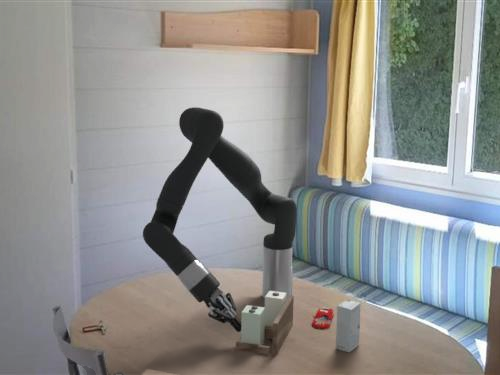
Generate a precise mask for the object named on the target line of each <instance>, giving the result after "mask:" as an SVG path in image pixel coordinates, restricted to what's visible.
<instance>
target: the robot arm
mask: <svg viewBox="0 0 500 375" xmlns="http://www.w3.org/2000/svg"><path fill="white" fill-rule="evenodd" d="M178 122H179V124H178V126H179V130H180V132H181V133H182V135H183V137H185V139H187V140H188V141H189V142H191V144H190V145H191V146H190V148H189V149H188V152H187V153H186V155H185V156H184V158H182V161H181V162H180V163H179V164H178V165H177V166H176V167H175V168H174V169H173V170H172V171H171V172H170V174H169V175H168V177H167V178H166V180H165V182H164V184H163V185H162V189H161V191H160V193H159V196H158V198H157V201H156V204H155V205H156V206H155V211H154V212H153V215H152V217H151V220H150V221H149V222H148V223H147V224H146V225H145V226H144V228H143V231H142V238H143V241H144V243H145V244H146V245H147V246H148V248H150V249H151V250H152V251H153V252H154V253H155V254H156V255H157V256H158V257H159V258H160V259H161V260H163V261H164V262H165V264H166V265H167V267H168V268H169V269H170V270H171V271H172V272H173V273H174V275H175V276H176V277H177V278H178V279H179V281H180V282H181V285H183V287H185V288H186V290H187V291H188V292H189V293H190V294H191V296H192V297H194V298H195V300H196V301H197V302H198V303H201V302H204V303H205V305H206V307H207V308H208V309H209V312H208V313H207V316H208V317H210V318H211V319H213V320H216V321H217V322H219V323H222V324H226V323H228V324H230V325H231V327H233V329H234V330H235V331H236V332H237V333H241V319H240V318H239V317H238V316H237V311H238V309H237V306H236V304H235V301H234V299H233V296H232V294H231V293H230V292H227V293H225V292H223V290H221V289H220V288H219V287H220V284H221V283H220V281H219V280H217V278H216V277H215V275H214V274H213V273H212V272H211V271H210V270H209V269H208V267H207V266H206V265H205V264H204V263H203V262H201V261H200V260H199V259H198V258H197V257H196V256H195V255H194V253H192V251H191V250H190V249H189V248H188V247H187V246H185V245H184V244H183V243H181V241H180V240H179V239H178V238H177V237H176V235H174V234H175V233H174V232H175V229H176V226H177V224H178V220H179V216H180V214H181V211H182V210H183V207H185V203H186V201H187V199H188V196H189V193H190V191H191V190H192V187H193V184H194V182H195V180H196V178H197V177H198V176H199V173H200V172H201V171H202V169H203V167H204V165H205V164H206V162H207V160H208V159H209V160H210V162H211V163H212V164H213V165H214V166H215V168H217V169H218V171H219V172H221V174H222V175H223V177H225V179H226V180H227V181H229V183H230V184H231V185H232V186H233V187H234V188H235V189H236V190H237V191H238V192H239V193H240V194H241V195H242V196H243V197H244V198H245V199H246V200H247V201H248V202H249V204H250V205H251V206H252V207H253V210H255V213H256V214H257V215H258V216H259V217H260V218H261V220H262V221H263V222H265V223H267V224H271V225H274V228H273V229H274V230H273V233H269V234H266V235H264V236H263V237H264V238H263V240H262V241H263V248H262V250H263V252H262V285H261V286H262V289H261V290H262V292H261V293H262V294H261V295H262V296H261V297H262V299H263V300H265V296H266V295H267V293H268V292H269V291H276V292H284V293H287V296H286V301H287V299H288V298H289V296H293V285H294V284H293V283H294V282H293V279H294V267H293V246H294V245H293V242H294V239H295V237H296V230H297V228H296V227H297V217H298V207H297V203H296V201H294V199H292V198H290V197H286V196H284V195H283V196H282V195H279V194H275V193H273V192H272V191H271V190H269V189H268V188H267V187H266V186H265V185H264V183H263V182H262V172H261V170H260V167H258V165H257V164H256V162H255V161H254V160H253V159H252V158H251V156H249V155H248V153H247V152H245V151H244V150H242V149H241V148H240V147H239V146H237V145H235V143H233V142H231V141H229V140H228V139H227V138H225V137H224V136H223V135H222V134H223V131H224V125H225V124H224V119H223V117H222V115H220V113H219V112H217V111H214V110H211V109H208V108H202V107H194V106H193V107H189V108H186V109H184V111H182V113H181V114H180V116H179V120H178Z"/></svg>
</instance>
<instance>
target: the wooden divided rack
mask: <svg viewBox="0 0 500 375" xmlns="http://www.w3.org/2000/svg"><path fill="white" fill-rule="evenodd" d="M294 297H295V296H293V295H291V296H289V298H288V299H287V301H286V303H285V304H284V306H283V308H282V309H281V311H280V312H279V314H278V316H277V317H276V319H275V321H274V322H273V327H268V326H265V330H264V339H268V340H272V344H271V345H272V347H271V346H269V345H263V346H262V345H256V344H249V343H242V342H241V341H236V343H235V349H236V350H238V351H244V352H253V353H259V354H265V355H270V354H271V352H272V356H278V354H279V352H280V350H281V348H282V347H283V344H284V343H285V341H286V339H287V337H288V336H289V333H290V331H291V330H292V328H293V326H294V323H293V322H294V303H295V302H294V300H295V298H294ZM271 349H272V350H271Z"/></svg>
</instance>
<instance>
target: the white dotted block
mask: <svg viewBox="0 0 500 375" xmlns="http://www.w3.org/2000/svg"><path fill="white" fill-rule="evenodd" d="M286 296H287V293H284V292H276V291H269V292H268V293H267V295H266V296H265V299H264V307H265V326H268V327H273V322H274V321H275V319H276V317H277V316H278V314H279V312H280V311H281V309H282V308H283V306H284V304H285V303H286Z"/></svg>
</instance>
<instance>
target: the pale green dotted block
mask: <svg viewBox="0 0 500 375" xmlns="http://www.w3.org/2000/svg"><path fill="white" fill-rule="evenodd" d="M240 320H241V331H240V333H241V334H240V335H241V336H240V342H242V343H249V344H256V345H262V346H264V344H265V338H264V330H265V306H257V305H248V304H247V305H246V306H244V308H243V309H242V311H241V319H240Z"/></svg>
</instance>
